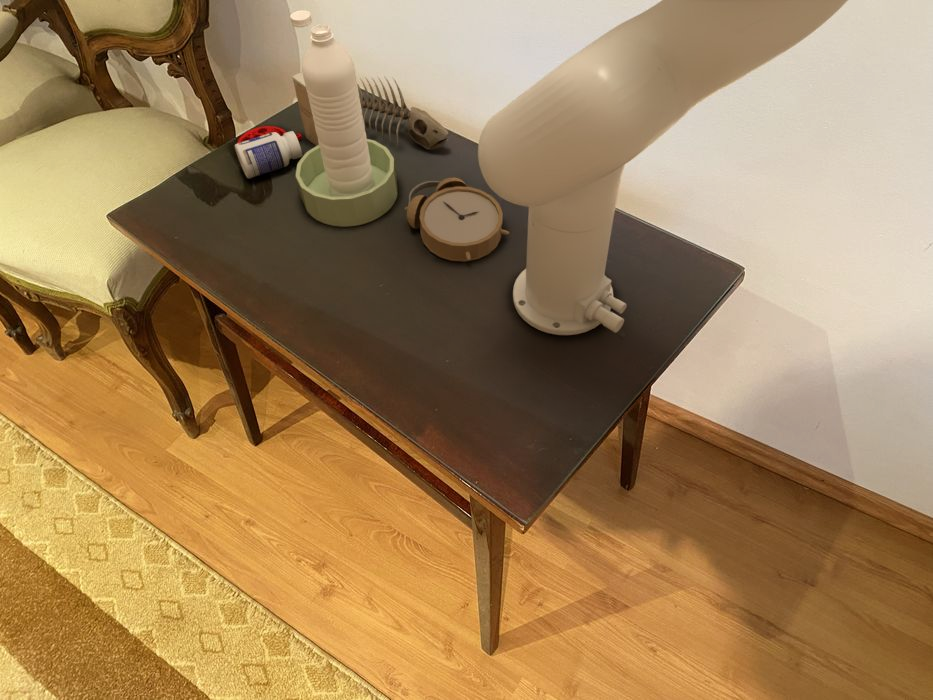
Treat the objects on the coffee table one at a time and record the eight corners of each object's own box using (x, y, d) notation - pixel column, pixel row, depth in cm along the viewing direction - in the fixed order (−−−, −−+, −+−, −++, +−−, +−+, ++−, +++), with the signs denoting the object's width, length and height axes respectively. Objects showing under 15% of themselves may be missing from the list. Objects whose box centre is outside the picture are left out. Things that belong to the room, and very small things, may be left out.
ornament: (236, 131, 117) (298, 120, 119) (237, 134, 118) (299, 123, 119) (238, 161, 113) (303, 149, 114) (239, 164, 113) (304, 153, 114)
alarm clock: (459, 260, 94) (386, 190, 99) (456, 283, 99) (386, 214, 104) (521, 219, 99) (448, 154, 104) (516, 242, 103) (446, 179, 108)
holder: (417, 191, 108) (414, 163, 104) (346, 240, 102) (340, 213, 98) (354, 153, 114) (349, 125, 110) (284, 198, 108) (276, 170, 104)
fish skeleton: (438, 163, 111) (437, 102, 104) (294, 111, 121) (284, 52, 113) (457, 146, 114) (458, 86, 107) (316, 96, 124) (307, 38, 117)
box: (305, 138, 117) (289, 75, 108) (327, 127, 118) (313, 63, 110) (325, 153, 114) (310, 89, 105) (347, 141, 116) (334, 77, 107)
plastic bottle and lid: (384, 193, 106) (358, 27, 87) (348, 214, 104) (313, 48, 84) (349, 166, 110) (316, 2, 91) (313, 186, 108) (272, 21, 88)
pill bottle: (250, 186, 110) (306, 168, 113) (242, 162, 106) (301, 144, 108) (238, 161, 113) (294, 143, 115) (231, 136, 108) (288, 119, 110)
